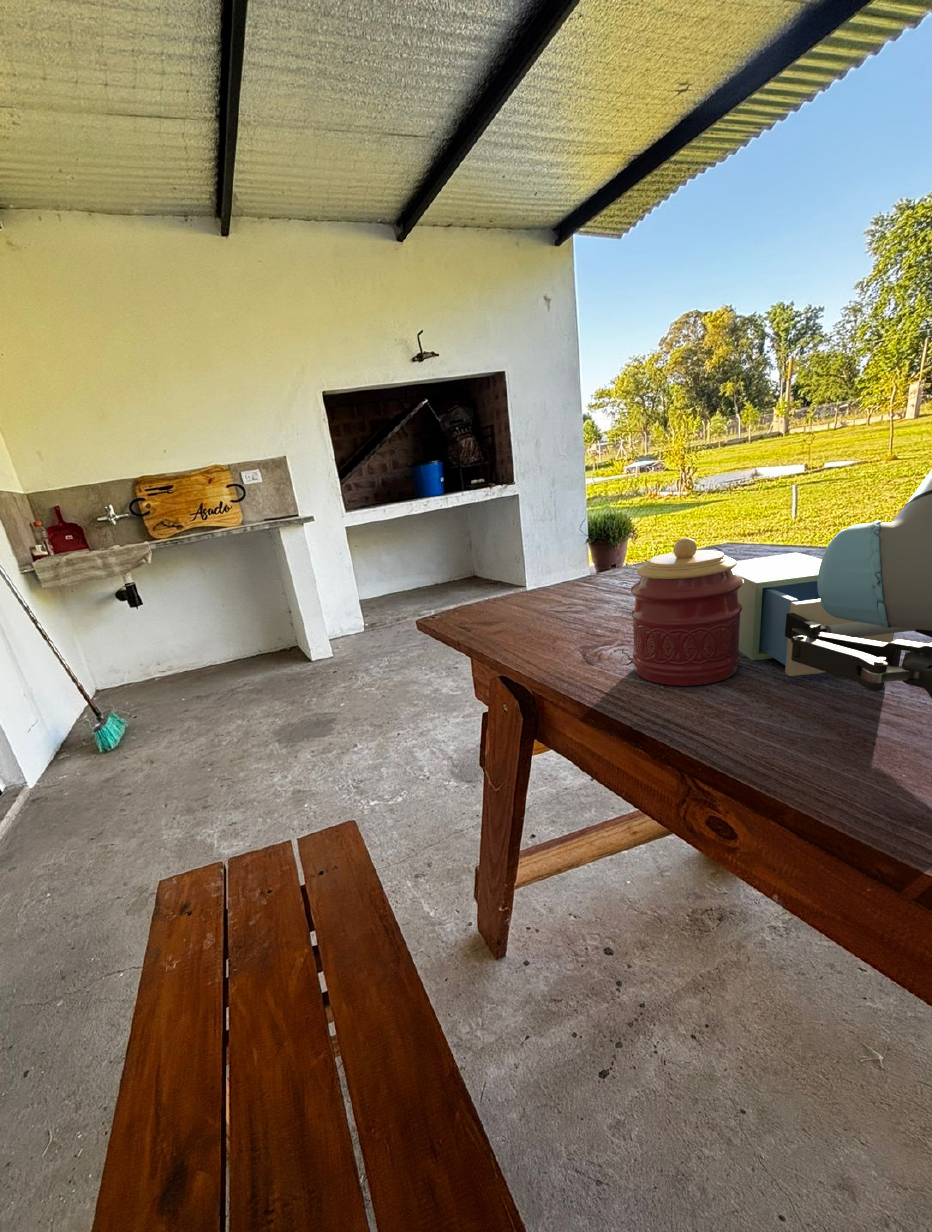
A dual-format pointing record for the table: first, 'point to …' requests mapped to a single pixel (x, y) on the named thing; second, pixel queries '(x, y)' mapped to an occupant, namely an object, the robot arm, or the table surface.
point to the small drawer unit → (763, 576)
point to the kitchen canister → (687, 617)
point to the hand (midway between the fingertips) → (843, 617)
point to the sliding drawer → (808, 605)
